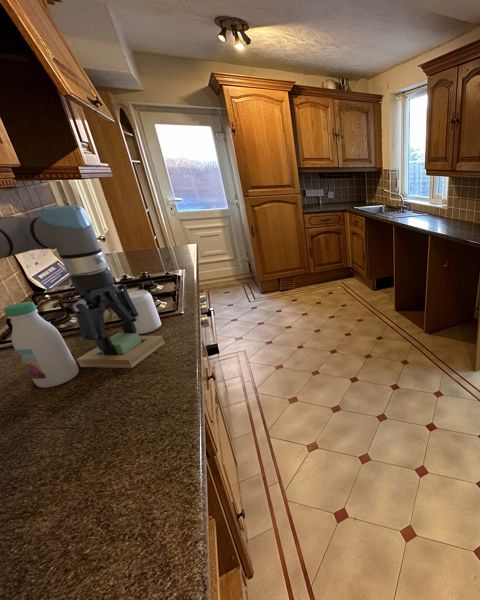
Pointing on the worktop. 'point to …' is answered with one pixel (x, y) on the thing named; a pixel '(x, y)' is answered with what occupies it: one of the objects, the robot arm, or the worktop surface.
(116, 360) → the base pad
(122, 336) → the green block
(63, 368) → the milk bottle
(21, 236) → the robot arm
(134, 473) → the worktop surface
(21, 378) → the worktop surface
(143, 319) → the white cylindrical container
